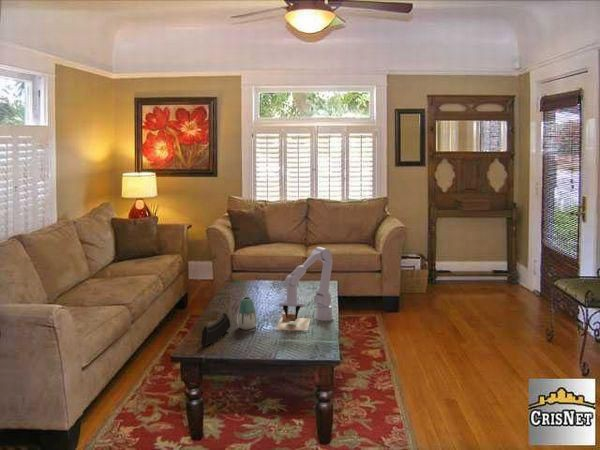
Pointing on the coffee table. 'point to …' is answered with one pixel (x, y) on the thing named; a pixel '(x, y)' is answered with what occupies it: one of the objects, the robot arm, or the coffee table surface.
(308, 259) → the robot arm
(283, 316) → the terracotta block
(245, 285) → the coffee table surface
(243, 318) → the vase
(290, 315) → the walnut block
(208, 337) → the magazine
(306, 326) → the birch board
